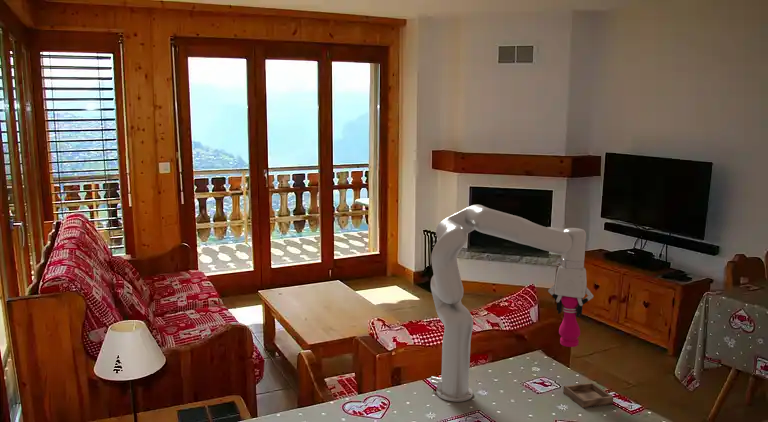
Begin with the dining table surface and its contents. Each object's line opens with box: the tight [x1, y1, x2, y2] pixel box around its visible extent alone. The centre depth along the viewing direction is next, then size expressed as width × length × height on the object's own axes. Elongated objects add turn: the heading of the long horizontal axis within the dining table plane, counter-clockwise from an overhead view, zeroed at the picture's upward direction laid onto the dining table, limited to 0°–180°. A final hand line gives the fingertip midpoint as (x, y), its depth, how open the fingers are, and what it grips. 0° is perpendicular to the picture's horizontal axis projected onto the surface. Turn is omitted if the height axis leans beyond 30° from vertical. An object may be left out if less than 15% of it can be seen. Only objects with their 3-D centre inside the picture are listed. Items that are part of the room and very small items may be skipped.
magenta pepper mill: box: [558, 296, 581, 348], centre depth 210 cm, size 7×7×20 cm
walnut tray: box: [563, 382, 614, 409], centre depth 205 cm, size 12×12×3 cm
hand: (569, 313), depth 209 cm, fingers closed on magenta pepper mill, 5 cm apart
